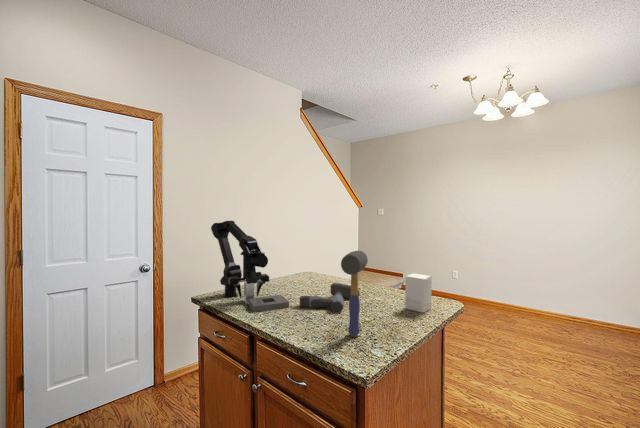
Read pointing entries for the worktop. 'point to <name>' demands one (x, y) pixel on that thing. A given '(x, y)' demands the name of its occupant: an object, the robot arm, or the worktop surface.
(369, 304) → the worktop surface
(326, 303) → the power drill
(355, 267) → the rubber mallet
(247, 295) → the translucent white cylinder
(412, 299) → the supplement box
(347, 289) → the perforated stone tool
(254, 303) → the grey slab with hole
